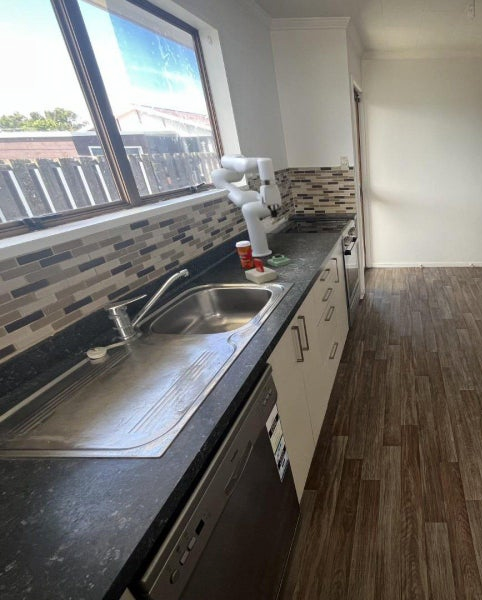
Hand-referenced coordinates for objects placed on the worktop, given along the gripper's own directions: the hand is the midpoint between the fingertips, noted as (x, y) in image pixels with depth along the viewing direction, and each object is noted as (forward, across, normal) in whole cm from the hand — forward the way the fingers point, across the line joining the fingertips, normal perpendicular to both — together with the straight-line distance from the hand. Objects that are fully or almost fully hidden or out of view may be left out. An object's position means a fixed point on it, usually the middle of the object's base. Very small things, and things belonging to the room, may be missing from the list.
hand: (274, 217), depth 185 cm
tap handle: (+21, +24, +19) cm, 37 cm away
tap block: (+25, +24, +19) cm, 40 cm away
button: (+21, +5, +5) cm, 23 cm away
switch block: (+25, +5, +5) cm, 26 cm away
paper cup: (+25, +19, -4) cm, 32 cm away
